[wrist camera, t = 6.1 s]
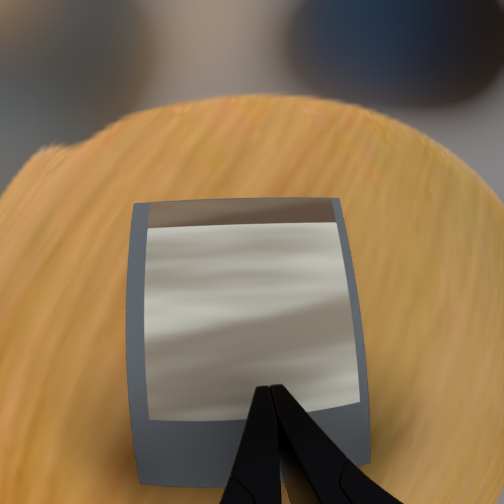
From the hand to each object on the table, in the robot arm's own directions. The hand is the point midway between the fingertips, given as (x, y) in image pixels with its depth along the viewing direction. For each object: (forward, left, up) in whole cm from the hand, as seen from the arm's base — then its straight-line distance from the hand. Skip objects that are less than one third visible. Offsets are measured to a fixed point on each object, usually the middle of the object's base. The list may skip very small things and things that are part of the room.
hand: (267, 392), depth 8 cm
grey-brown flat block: (-1, +1, -6) cm, 6 cm away
